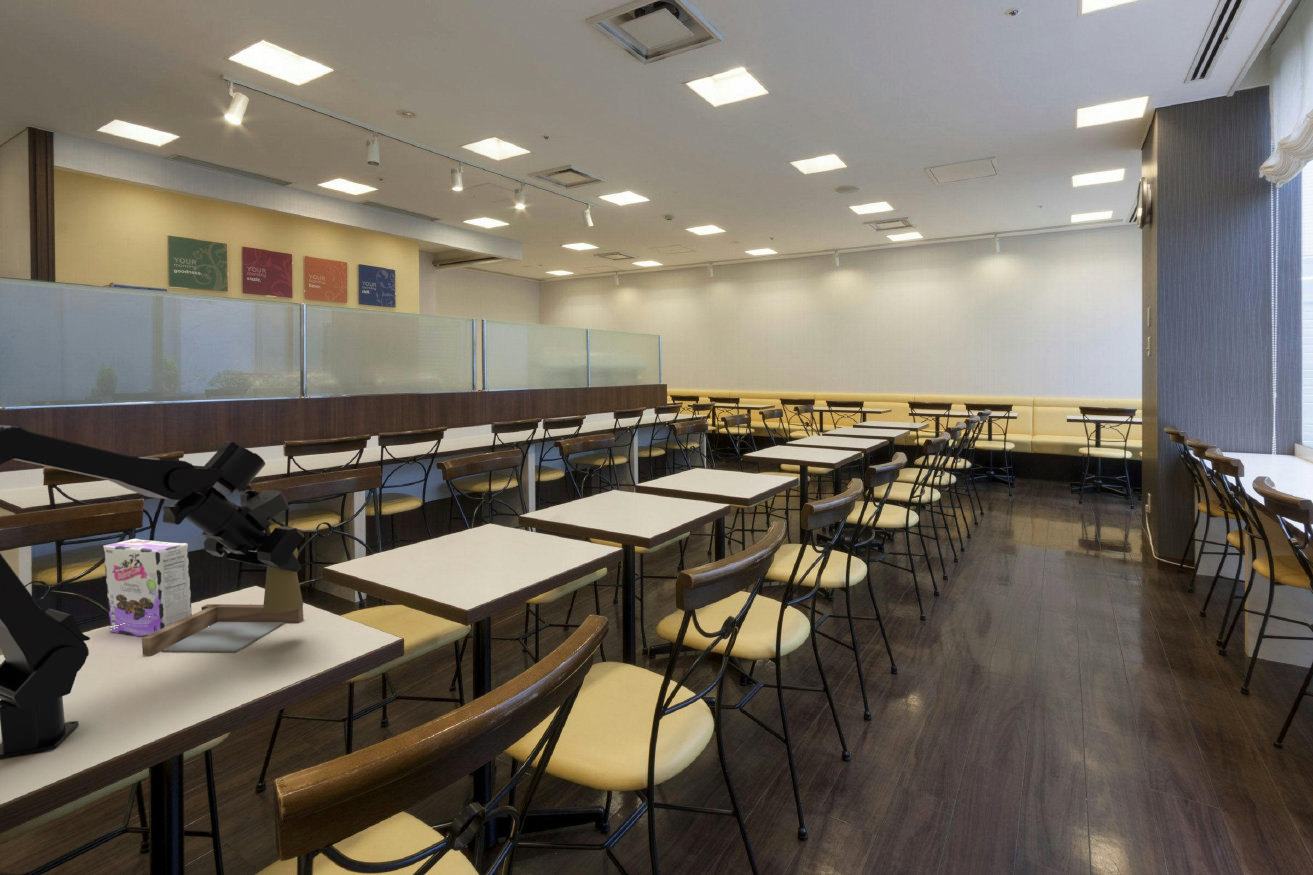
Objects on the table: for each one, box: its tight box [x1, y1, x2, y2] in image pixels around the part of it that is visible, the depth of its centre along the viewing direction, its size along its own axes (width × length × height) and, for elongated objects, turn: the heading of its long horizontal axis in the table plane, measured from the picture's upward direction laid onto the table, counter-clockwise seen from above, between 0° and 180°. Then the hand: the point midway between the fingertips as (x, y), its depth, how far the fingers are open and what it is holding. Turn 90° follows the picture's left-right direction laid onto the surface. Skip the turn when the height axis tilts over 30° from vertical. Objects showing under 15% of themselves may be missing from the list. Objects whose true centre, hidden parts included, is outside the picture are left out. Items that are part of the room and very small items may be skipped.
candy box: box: [102, 538, 193, 638], centre depth 117 cm, size 14×6×16 cm, turn 73°
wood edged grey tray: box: [141, 603, 305, 657], centre depth 114 cm, size 16×19×3 cm
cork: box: [262, 548, 304, 614], centre depth 109 cm, size 6×6×11 cm
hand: (289, 567), depth 110 cm, fingers closed on cork, 5 cm apart
